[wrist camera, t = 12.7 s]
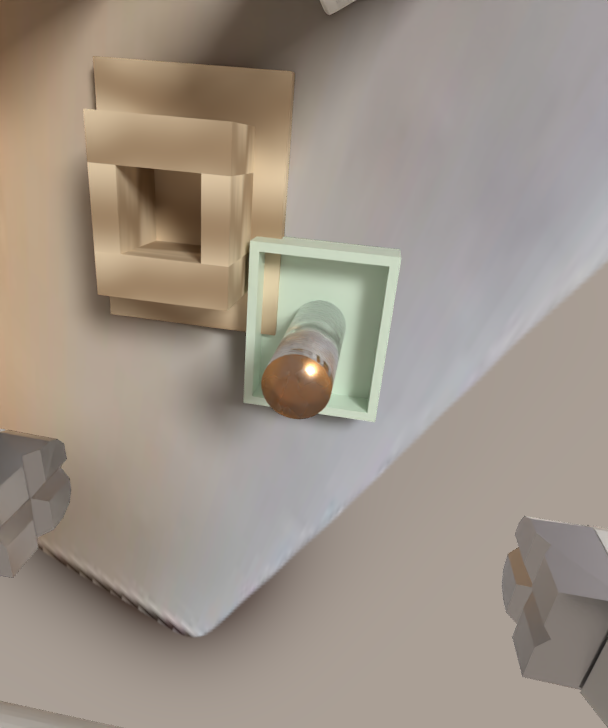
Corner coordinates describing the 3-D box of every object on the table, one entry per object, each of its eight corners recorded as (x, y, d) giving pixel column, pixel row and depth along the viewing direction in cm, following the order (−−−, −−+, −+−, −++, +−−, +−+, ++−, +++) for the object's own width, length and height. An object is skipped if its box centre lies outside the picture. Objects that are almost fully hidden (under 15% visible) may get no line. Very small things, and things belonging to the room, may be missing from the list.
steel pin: (295, 297, 34) (262, 349, 25) (348, 303, 34) (335, 359, 25) (291, 346, 36) (259, 413, 26) (342, 353, 35) (327, 423, 26)
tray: (260, 234, 34) (250, 240, 31) (400, 249, 33) (401, 257, 30) (253, 386, 38) (243, 402, 35) (375, 403, 37) (375, 422, 34)
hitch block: (101, 58, 31) (40, 38, 25) (294, 73, 30) (274, 55, 24) (117, 310, 37) (71, 337, 32) (277, 331, 36) (258, 363, 30)
